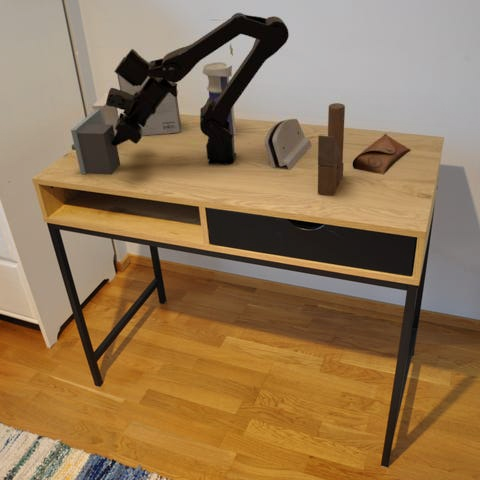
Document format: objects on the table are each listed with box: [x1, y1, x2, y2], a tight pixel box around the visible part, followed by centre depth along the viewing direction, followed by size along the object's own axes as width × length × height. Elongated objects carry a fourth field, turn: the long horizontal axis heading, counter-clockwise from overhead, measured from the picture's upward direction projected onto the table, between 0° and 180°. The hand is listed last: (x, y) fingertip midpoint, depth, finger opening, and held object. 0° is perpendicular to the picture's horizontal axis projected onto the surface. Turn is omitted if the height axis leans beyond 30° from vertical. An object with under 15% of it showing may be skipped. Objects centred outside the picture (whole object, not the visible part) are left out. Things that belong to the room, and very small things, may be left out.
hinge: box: [264, 118, 312, 171], centre depth 144 cm, size 17×5×10 cm, turn 155°
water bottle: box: [202, 42, 237, 136], centre depth 155 cm, size 8×9×25 cm
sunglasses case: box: [352, 133, 411, 175], centre depth 140 cm, size 18×7×7 cm
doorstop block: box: [77, 124, 121, 175], centre depth 142 cm, size 7×6×11 cm
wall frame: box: [92, 92, 120, 135], centre depth 157 cm, size 3×11×13 cm, turn 172°
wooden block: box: [317, 102, 346, 197], centre depth 125 cm, size 4×11×18 cm, turn 159°
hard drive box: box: [116, 59, 182, 137], centre depth 161 cm, size 16×8×20 cm, turn 94°
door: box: [70, 109, 103, 175], centre depth 147 cm, size 3×16×12 cm, turn 169°
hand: (113, 144), depth 142 cm, fingers closed, pressing on doorstop block
